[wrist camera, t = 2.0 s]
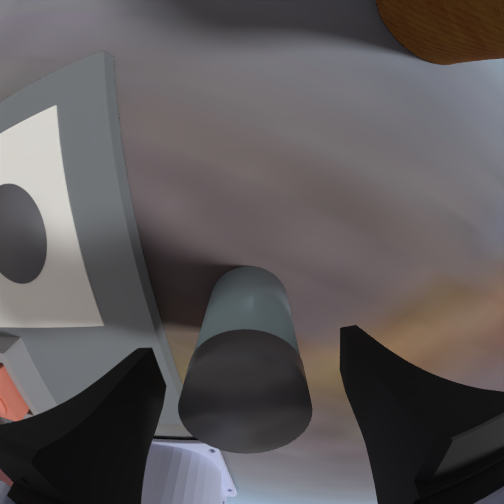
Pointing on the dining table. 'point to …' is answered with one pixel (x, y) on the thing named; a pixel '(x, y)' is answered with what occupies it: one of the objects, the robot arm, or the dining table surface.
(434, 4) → the disposable coffee cup
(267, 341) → the salt shaker
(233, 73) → the dining table surface
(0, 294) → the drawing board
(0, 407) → the button
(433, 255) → the dining table surface
